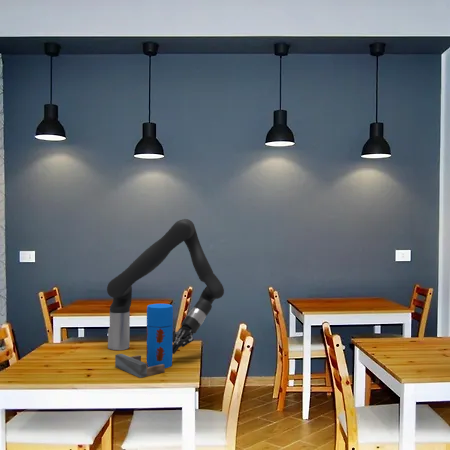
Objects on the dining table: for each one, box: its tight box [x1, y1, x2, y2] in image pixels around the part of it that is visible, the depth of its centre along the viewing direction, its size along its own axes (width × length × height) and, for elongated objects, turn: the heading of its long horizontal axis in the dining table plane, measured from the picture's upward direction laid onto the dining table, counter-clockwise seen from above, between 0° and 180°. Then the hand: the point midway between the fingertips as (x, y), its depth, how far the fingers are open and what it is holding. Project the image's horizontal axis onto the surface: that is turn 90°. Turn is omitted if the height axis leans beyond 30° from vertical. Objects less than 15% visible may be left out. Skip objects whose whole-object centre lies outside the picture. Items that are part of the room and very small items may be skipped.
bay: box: [114, 353, 166, 379], centre depth 218 cm, size 12×19×5 cm, turn 41°
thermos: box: [145, 303, 174, 369], centre depth 224 cm, size 11×11×25 cm
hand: (171, 352), depth 228 cm, fingers closed
